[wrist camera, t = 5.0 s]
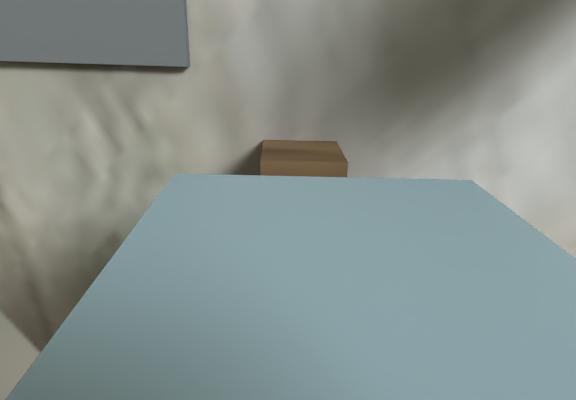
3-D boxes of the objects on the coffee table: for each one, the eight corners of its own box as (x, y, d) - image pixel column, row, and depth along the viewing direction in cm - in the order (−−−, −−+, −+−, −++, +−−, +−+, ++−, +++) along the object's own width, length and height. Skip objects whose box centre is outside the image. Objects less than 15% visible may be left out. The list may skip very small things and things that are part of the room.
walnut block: (330, 207, 20) (340, 240, 17) (262, 206, 20) (260, 239, 17) (336, 141, 19) (347, 162, 16) (263, 139, 19) (260, 161, 16)
